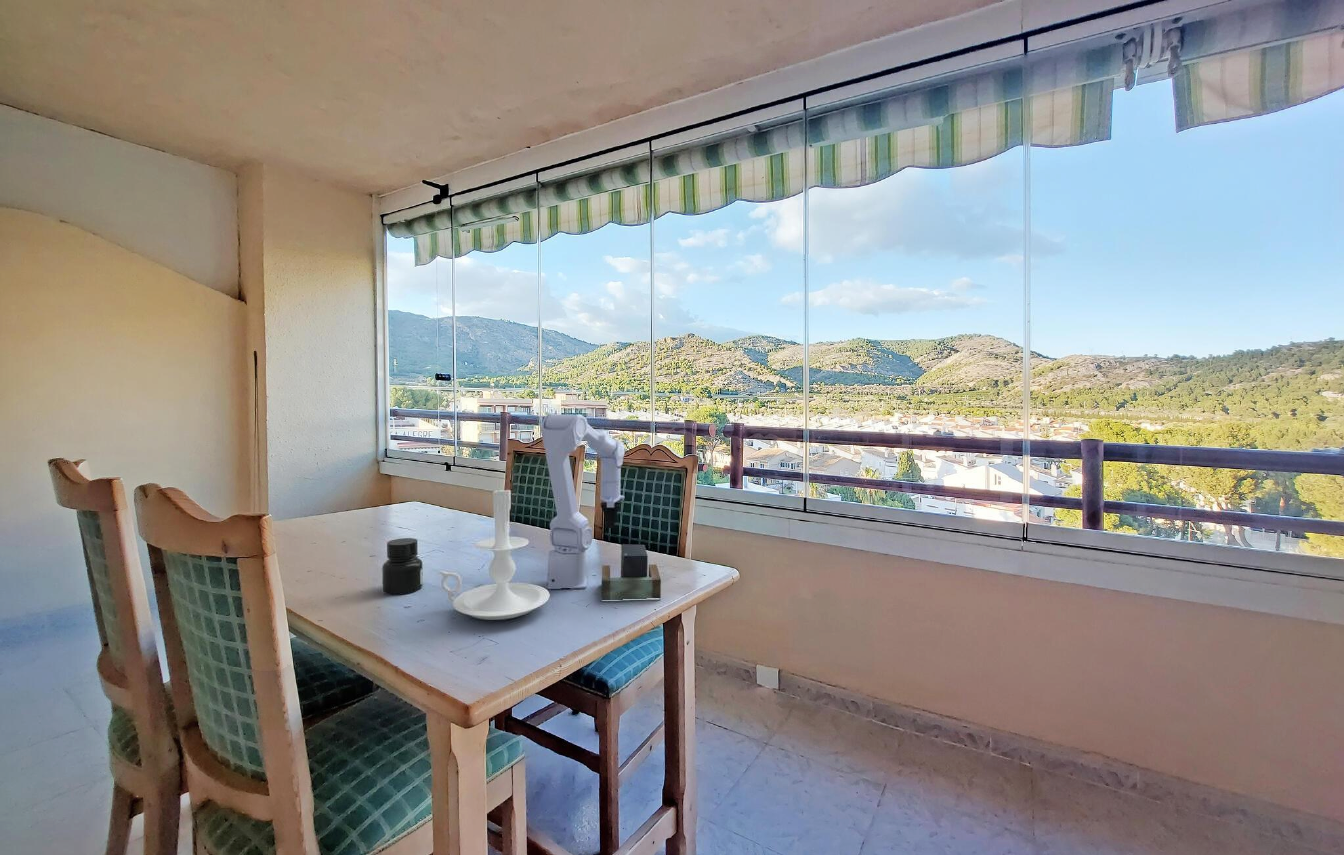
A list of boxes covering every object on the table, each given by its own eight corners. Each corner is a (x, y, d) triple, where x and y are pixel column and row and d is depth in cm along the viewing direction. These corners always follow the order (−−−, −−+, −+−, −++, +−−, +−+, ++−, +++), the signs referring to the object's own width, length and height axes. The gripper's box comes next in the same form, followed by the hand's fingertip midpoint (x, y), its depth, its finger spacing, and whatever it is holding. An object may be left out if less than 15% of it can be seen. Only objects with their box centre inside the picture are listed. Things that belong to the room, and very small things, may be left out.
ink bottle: (431, 587, 138) (431, 539, 138) (401, 598, 130) (400, 548, 130) (404, 581, 142) (403, 535, 142) (373, 591, 134) (372, 543, 134)
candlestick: (460, 593, 134) (460, 479, 133) (560, 597, 133) (560, 481, 131) (415, 627, 114) (414, 493, 112) (532, 633, 112) (532, 497, 111)
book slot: (601, 601, 130) (601, 580, 130) (602, 584, 142) (602, 565, 142) (660, 600, 131) (660, 579, 131) (656, 583, 143) (656, 564, 143)
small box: (648, 597, 133) (648, 554, 133) (621, 598, 132) (621, 555, 132) (644, 583, 144) (645, 543, 143) (619, 583, 143) (620, 543, 142)
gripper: (625, 484, 153) (624, 533, 154) (623, 477, 167) (623, 521, 168) (599, 485, 152) (599, 533, 153) (600, 477, 166) (600, 521, 167)
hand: (610, 527), depth 160 cm, fingers closed
